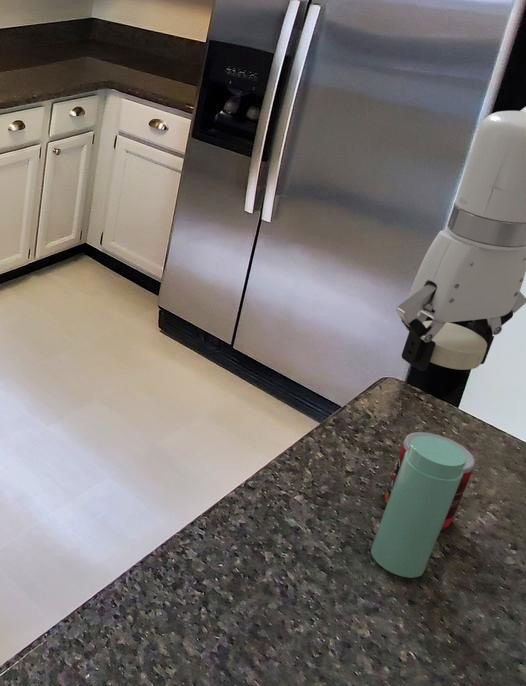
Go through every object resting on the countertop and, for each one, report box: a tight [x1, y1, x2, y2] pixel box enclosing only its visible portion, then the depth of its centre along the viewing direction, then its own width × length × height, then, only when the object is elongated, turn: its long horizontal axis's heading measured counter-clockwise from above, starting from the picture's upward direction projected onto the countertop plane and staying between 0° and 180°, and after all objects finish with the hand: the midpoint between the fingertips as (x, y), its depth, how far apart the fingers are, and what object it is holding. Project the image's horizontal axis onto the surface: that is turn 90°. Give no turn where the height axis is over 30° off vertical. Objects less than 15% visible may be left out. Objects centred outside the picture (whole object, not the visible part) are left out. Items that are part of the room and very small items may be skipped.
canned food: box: [384, 431, 476, 531], centre depth 109 cm, size 8×8×11 cm
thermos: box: [370, 436, 466, 579], centre depth 100 cm, size 6×6×18 cm
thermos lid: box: [423, 320, 487, 371], centre depth 94 cm, size 7×7×2 cm
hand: (442, 360), depth 95 cm, fingers closed on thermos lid, 7 cm apart
